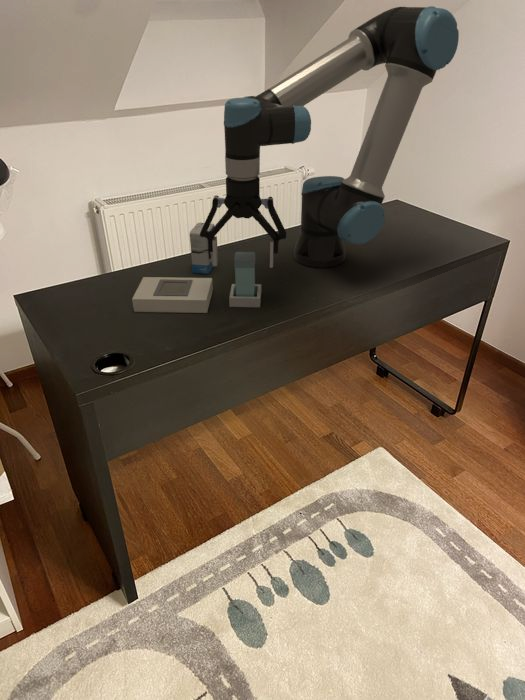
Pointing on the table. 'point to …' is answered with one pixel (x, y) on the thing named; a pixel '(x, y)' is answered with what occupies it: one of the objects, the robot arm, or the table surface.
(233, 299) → the grey square frame
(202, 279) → the port
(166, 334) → the table surface
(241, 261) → the plug
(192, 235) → the ink box
